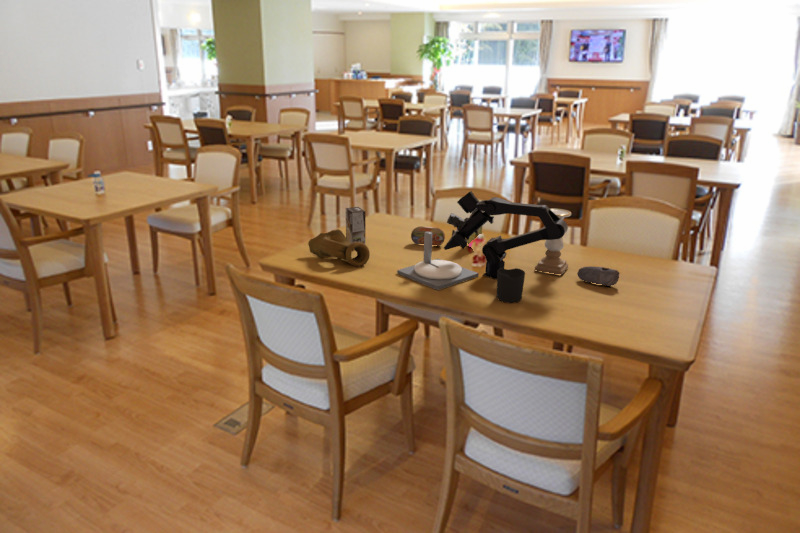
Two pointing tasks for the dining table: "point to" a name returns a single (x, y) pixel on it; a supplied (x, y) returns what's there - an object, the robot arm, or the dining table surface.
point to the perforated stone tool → (599, 275)
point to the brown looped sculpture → (339, 247)
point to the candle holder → (554, 251)
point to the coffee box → (355, 225)
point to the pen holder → (510, 284)
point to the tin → (420, 231)
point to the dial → (435, 264)
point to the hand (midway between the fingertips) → (444, 248)
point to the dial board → (437, 283)
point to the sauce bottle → (474, 233)
